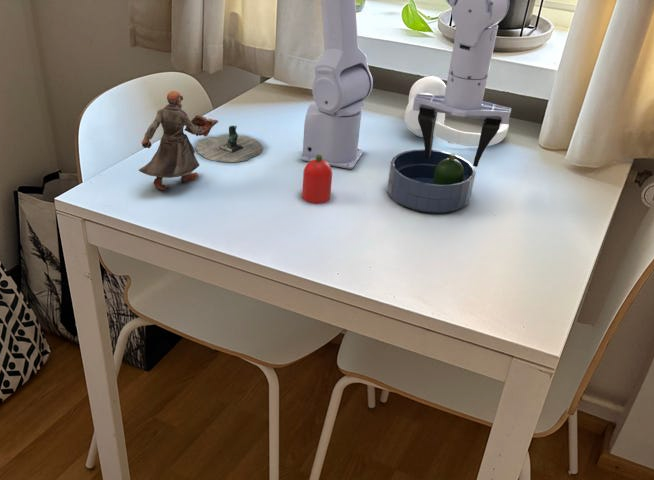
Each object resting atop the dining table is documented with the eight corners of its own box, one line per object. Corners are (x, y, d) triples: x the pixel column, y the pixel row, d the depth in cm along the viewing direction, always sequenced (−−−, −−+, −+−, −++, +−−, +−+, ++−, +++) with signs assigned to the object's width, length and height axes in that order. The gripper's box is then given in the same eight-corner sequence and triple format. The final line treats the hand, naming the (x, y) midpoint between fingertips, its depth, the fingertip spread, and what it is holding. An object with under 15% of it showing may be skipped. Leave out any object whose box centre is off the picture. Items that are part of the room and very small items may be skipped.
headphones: (398, 140, 140) (503, 164, 138) (408, 99, 134) (518, 123, 133) (406, 104, 155) (501, 125, 153) (416, 65, 149) (514, 87, 148)
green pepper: (446, 204, 120) (454, 163, 116) (425, 193, 123) (432, 153, 118) (464, 196, 123) (473, 156, 118) (443, 186, 125) (450, 146, 121)
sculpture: (266, 139, 139) (265, 118, 131) (258, 185, 138) (256, 166, 130) (203, 129, 140) (198, 108, 132) (194, 175, 138) (189, 156, 130)
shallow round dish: (378, 205, 120) (382, 176, 117) (396, 171, 130) (400, 144, 127) (463, 221, 117) (469, 192, 114) (474, 185, 127) (480, 157, 124)
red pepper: (296, 194, 122) (298, 153, 117) (318, 188, 124) (321, 147, 119) (313, 206, 119) (316, 164, 114) (335, 199, 121) (339, 157, 117)
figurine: (216, 171, 127) (214, 82, 118) (228, 190, 122) (228, 99, 112) (134, 180, 123) (125, 89, 114) (143, 200, 118) (135, 106, 108)
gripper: (415, 74, 109) (402, 162, 117) (516, 89, 106) (495, 178, 114) (423, 60, 114) (410, 145, 123) (519, 74, 111) (499, 160, 120)
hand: (451, 160), depth 119 cm, fingers open, 7 cm apart
